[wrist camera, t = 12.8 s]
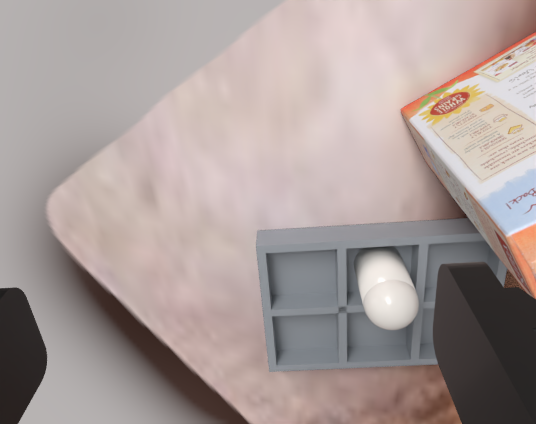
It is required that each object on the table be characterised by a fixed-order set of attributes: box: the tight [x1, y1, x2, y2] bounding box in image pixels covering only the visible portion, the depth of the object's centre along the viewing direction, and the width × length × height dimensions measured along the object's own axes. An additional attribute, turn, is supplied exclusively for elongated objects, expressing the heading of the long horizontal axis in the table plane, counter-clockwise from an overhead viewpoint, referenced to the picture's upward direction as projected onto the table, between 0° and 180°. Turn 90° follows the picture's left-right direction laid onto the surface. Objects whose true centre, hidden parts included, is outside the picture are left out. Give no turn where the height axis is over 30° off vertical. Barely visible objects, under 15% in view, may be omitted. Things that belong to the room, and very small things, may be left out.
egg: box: [354, 246, 419, 330], centre depth 43 cm, size 5×5×8 cm
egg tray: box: [256, 218, 507, 372], centre depth 47 cm, size 22×15×3 cm
